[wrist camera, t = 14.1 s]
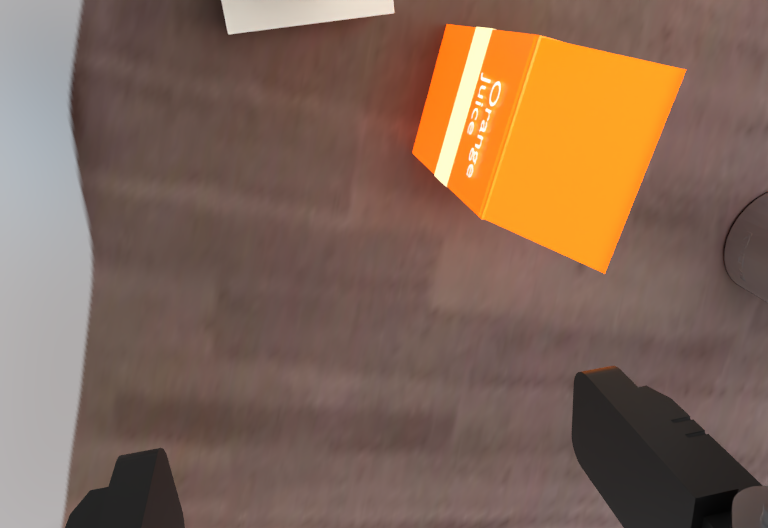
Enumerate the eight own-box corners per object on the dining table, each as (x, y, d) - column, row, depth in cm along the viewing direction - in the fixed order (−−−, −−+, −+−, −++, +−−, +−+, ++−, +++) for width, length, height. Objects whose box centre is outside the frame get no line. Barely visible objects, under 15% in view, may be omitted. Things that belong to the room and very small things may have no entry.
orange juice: (409, 153, 44) (521, 262, 26) (445, 21, 41) (600, 39, 23) (510, 175, 46) (680, 290, 28) (551, 51, 43) (770, 89, 25)
